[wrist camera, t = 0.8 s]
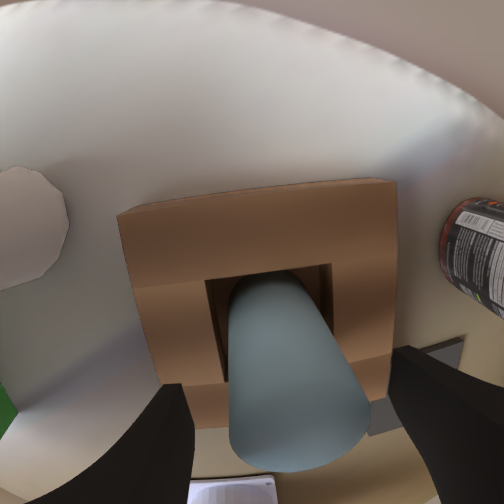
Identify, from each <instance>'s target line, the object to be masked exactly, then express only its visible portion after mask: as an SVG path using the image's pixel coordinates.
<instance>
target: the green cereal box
mask: <svg viewBox="0 0 504 504" xmlns="http://www.w3.org/2000/svg"><path fill="white" fill-rule="evenodd" d="M17 414H18V412H17V410H16V409H15V407H14V405H13V404H12V402H11V400H10V399H9V397H8V395H7V394H6V392H5V390H4V388H3V387H2V385H1V383H0V440H1V438H2V436H3V435H4V433H5V432H6V430H7V429H8V427H9V426H10V424H11V423H12V421H13V420H14V418H15V417H16V415H17Z"/></svg>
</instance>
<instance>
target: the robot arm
mask: <svg viewBox="0 0 504 504" xmlns="http://www.w3.org/2000/svg"><path fill="white" fill-rule="evenodd" d="M388 395H389V398H390V400H391V403H392V405H393V408H394V410H395V412H396V414H397V416H398V418H399V420H400V421H401V423H402V425H403V426H404V428H405V430H406V431H407V433H408V435H409V436H410V438H411V440H412V441H413V443H414V445H415V446H416V448H417V450H418V451H419V453H420V455H421V456H422V458H423V460H424V462H425V464H426V466H427V468H428V470H429V472H430V475H431V477H432V480H433V482H434V484H435V487H436V490H437V493H438V495H439V498H440V501H441V504H504V388H503V387H500V386H497V385H493V384H490V383H488V382H485V381H482V380H480V379H477V378H475V377H473V376H470V375H468V374H466V373H463V372H461V371H459V370H457V369H455V368H453V367H451V366H449V365H447V364H445V363H443V362H441V361H439V360H437V359H435V358H433V357H431V356H430V355H428V354H426V353H424V352H422V351H420V350H418V349H416V348H414V347H411V346H409V345H407V346H404V347H400V348H396V349H393V358H392V365H391V373H390V380H389V386H388ZM194 451H195V424H194V421H193V418H192V415H191V412H190V409H189V406H188V403H187V400H186V397H185V394H184V391H183V387H182V384H181V383H173V384H163V385H162V387H161V388H160V389H159V390H158V392H157V393H156V394H155V396H154V397H153V398H152V400H151V401H150V402H149V404H148V405H147V406H146V408H145V409H144V410H143V412H142V413H141V414H140V415H139V417H138V418H137V419H136V420H135V422H134V423H133V424H132V425H131V427H130V428H129V429H128V430H127V431H126V432H125V433H124V434H123V436H122V437H121V438H120V439H119V440H118V441H117V442H116V443H115V444H114V445H113V446H112V447H111V448H110V449H109V450H108V451H107V452H106V453H105V454H104V455H103V456H102V457H100V458H99V459H98V460H97V461H96V462H95V463H93V464H92V465H91V466H90V467H88V468H87V469H86V470H84V471H83V472H81V473H80V474H79V475H77V476H76V477H74V478H73V479H72V480H70V481H69V482H67V483H65V484H64V485H62V486H60V487H59V488H57V489H55V490H53V491H51V492H49V493H48V494H46V495H43V496H41V497H39V498H37V499H34V500H32V501H30V502H27V503H25V504H278V500H277V494H276V487H275V480H274V476H272V475H261V476H252V477H242V478H230V479H213V480H191V473H192V466H193V458H194Z"/></svg>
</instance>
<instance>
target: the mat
mask: <svg viewBox="0 0 504 504" xmlns="http://www.w3.org/2000/svg"><path fill="white" fill-rule="evenodd" d="M462 346H463V340H462V339H460V338H456V339H453V340H450V341H447V342H443V343H440V344H437V345H434V346H431V347H427V348H424V349H421V350H420V351H422V352H424V353H426V354H428V355H430V356H431V357H433V358H435V359H437V360H439V361H441V362H443V363H445V364H447V365H449V366H451V367H453V368H455V369H457V367H458V363H459V359H460V355H461V350H462ZM392 358H393V357H392ZM392 358H391V361H390V369H389V376H388V384H387V390H386V397H385V398H381V399H378V400H374V401H371V420H370V424H369V426H368V429H367V433H368V435H369V437H370V436H373V435H377V434H380V433H383V432H387V431H390V430H393V429H396V428H399V427H402V426H403V425H402V423H401V421H400V420H399V418H398V416H397V414H396V412H395V410H394V408H393V405H392V403H391V400H390V398H389V395H388V386H389V380H390V373H391V365H392Z"/></svg>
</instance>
